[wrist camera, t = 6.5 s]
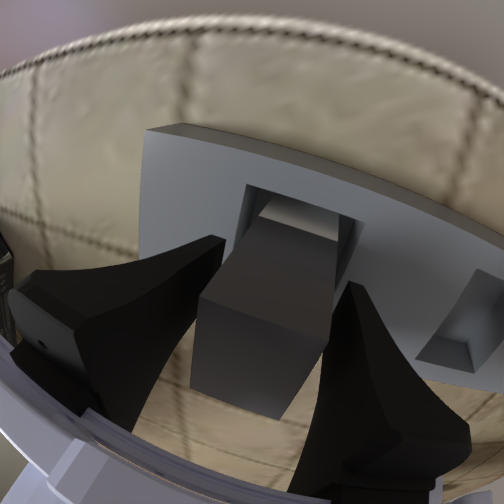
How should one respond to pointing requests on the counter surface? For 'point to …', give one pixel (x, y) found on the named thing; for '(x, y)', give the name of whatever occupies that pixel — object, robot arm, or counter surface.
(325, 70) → the counter surface
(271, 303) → the plug
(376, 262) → the power strip
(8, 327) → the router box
